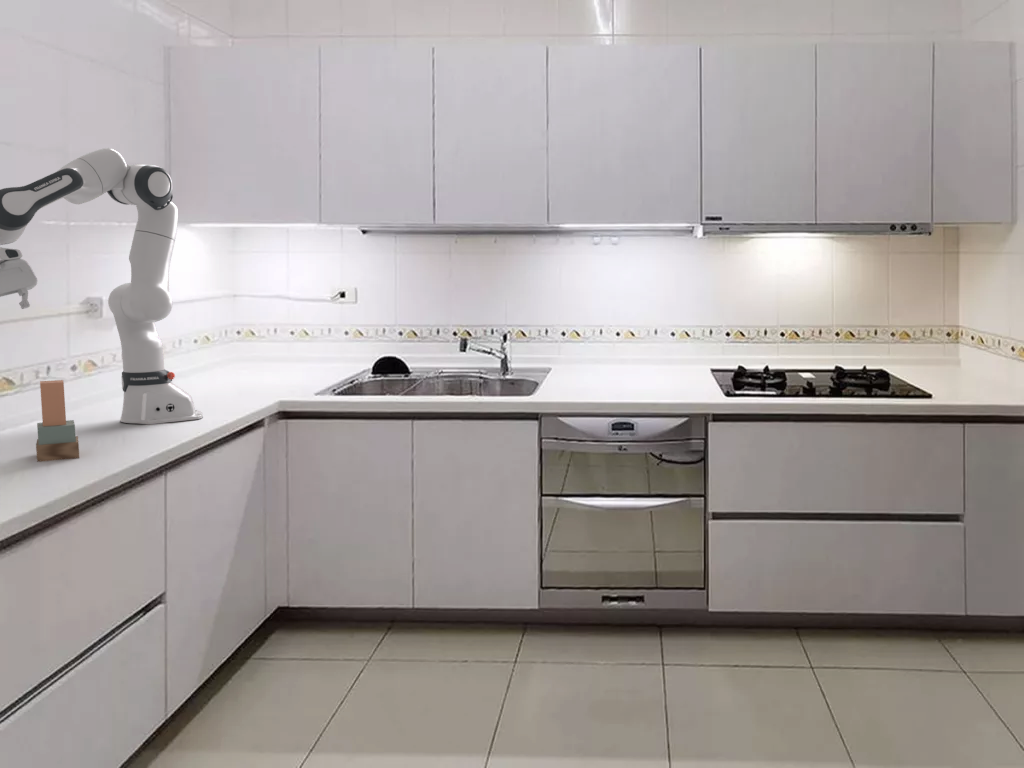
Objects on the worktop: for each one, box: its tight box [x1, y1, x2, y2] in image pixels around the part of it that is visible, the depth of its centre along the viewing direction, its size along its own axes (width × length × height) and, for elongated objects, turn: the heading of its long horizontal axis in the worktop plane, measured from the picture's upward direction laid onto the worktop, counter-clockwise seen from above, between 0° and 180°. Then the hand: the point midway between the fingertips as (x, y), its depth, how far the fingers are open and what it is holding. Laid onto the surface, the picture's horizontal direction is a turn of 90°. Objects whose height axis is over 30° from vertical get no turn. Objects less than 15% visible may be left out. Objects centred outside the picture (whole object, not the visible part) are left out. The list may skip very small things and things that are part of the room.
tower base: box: [35, 435, 80, 462], centre depth 248 cm, size 9×9×4 cm
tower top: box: [36, 419, 77, 445], centre depth 248 cm, size 8×8×4 cm
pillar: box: [39, 379, 67, 426], centre depth 247 cm, size 5×5×10 cm
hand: (9, 312), depth 260 cm, fingers open, 8 cm apart
